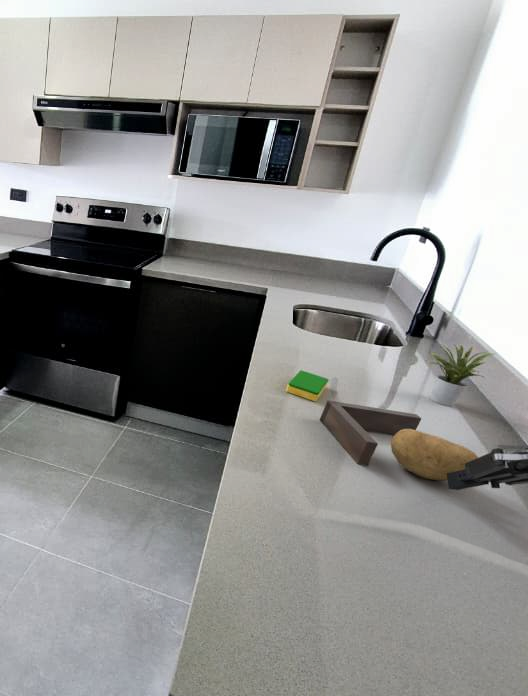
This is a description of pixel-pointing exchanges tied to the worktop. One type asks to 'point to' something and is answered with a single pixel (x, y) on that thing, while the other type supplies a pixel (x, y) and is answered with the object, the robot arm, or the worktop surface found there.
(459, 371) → the house plant
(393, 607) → the worktop surface
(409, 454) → the potato
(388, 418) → the wooden corner bracket
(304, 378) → the dish sponge
